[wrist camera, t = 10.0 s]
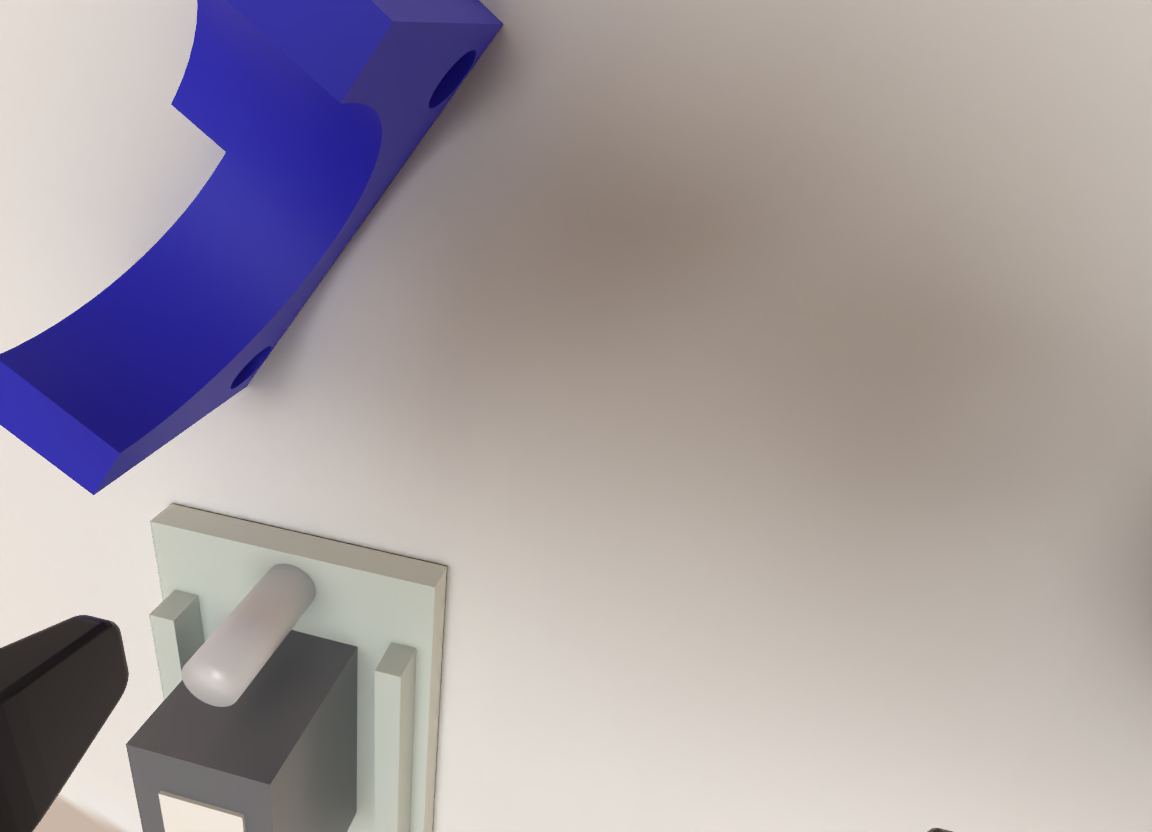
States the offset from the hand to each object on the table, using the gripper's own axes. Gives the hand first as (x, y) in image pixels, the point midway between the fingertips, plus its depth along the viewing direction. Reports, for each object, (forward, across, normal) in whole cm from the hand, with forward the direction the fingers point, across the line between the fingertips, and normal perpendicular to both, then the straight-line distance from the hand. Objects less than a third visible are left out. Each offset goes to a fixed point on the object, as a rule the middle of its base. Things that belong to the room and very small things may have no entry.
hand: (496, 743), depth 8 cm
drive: (+11, +9, +15) cm, 21 cm away
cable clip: (+12, +9, -3) cm, 16 cm away
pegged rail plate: (+12, +9, +15) cm, 21 cm away
